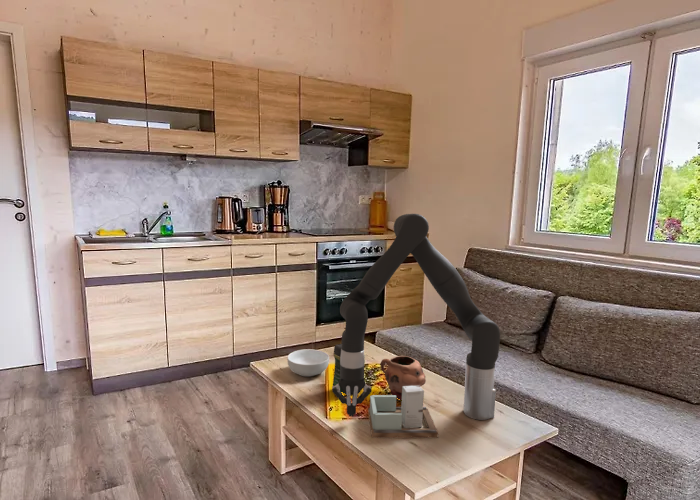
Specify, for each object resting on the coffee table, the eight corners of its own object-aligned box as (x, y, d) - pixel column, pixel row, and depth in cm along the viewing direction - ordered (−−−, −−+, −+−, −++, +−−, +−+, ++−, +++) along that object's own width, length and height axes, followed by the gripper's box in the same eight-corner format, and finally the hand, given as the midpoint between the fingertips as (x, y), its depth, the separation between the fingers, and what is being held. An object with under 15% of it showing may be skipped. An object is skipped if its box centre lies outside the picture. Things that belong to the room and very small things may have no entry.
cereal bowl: (298, 385, 164) (298, 367, 163) (280, 370, 177) (280, 353, 177) (336, 375, 173) (336, 358, 172) (316, 362, 187) (316, 346, 186)
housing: (395, 409, 143) (395, 395, 142) (401, 430, 130) (401, 414, 129) (369, 409, 142) (370, 395, 142) (373, 430, 130) (373, 414, 129)
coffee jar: (341, 399, 153) (342, 349, 150) (329, 390, 159) (329, 342, 157) (362, 392, 159) (364, 344, 156) (350, 384, 165) (351, 338, 163)
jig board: (427, 412, 144) (427, 406, 144) (437, 437, 130) (438, 431, 129) (368, 412, 144) (368, 406, 143) (371, 437, 129) (372, 431, 129)
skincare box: (404, 429, 134) (405, 392, 133) (400, 421, 138) (401, 385, 137) (423, 427, 135) (424, 390, 134) (418, 420, 140) (419, 384, 138)
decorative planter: (369, 392, 158) (370, 356, 156) (387, 382, 168) (388, 348, 166) (416, 410, 146) (417, 371, 144) (433, 398, 155) (435, 361, 153)
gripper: (372, 358, 137) (371, 409, 140) (331, 358, 137) (330, 409, 139) (374, 367, 130) (373, 421, 132) (331, 367, 130) (330, 421, 132)
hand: (351, 415), depth 136 cm, fingers closed
